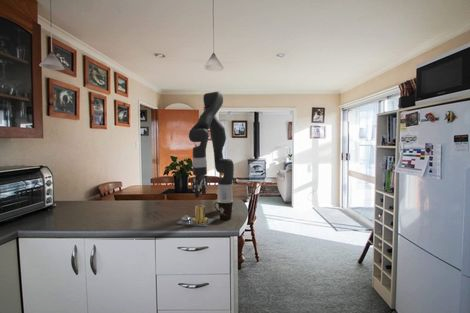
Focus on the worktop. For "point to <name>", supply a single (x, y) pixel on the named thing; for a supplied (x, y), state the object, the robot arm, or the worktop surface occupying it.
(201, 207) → the planet gear
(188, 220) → the carrier
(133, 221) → the worktop surface
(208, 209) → the worktop surface
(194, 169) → the robot arm
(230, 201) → the coffee mug
